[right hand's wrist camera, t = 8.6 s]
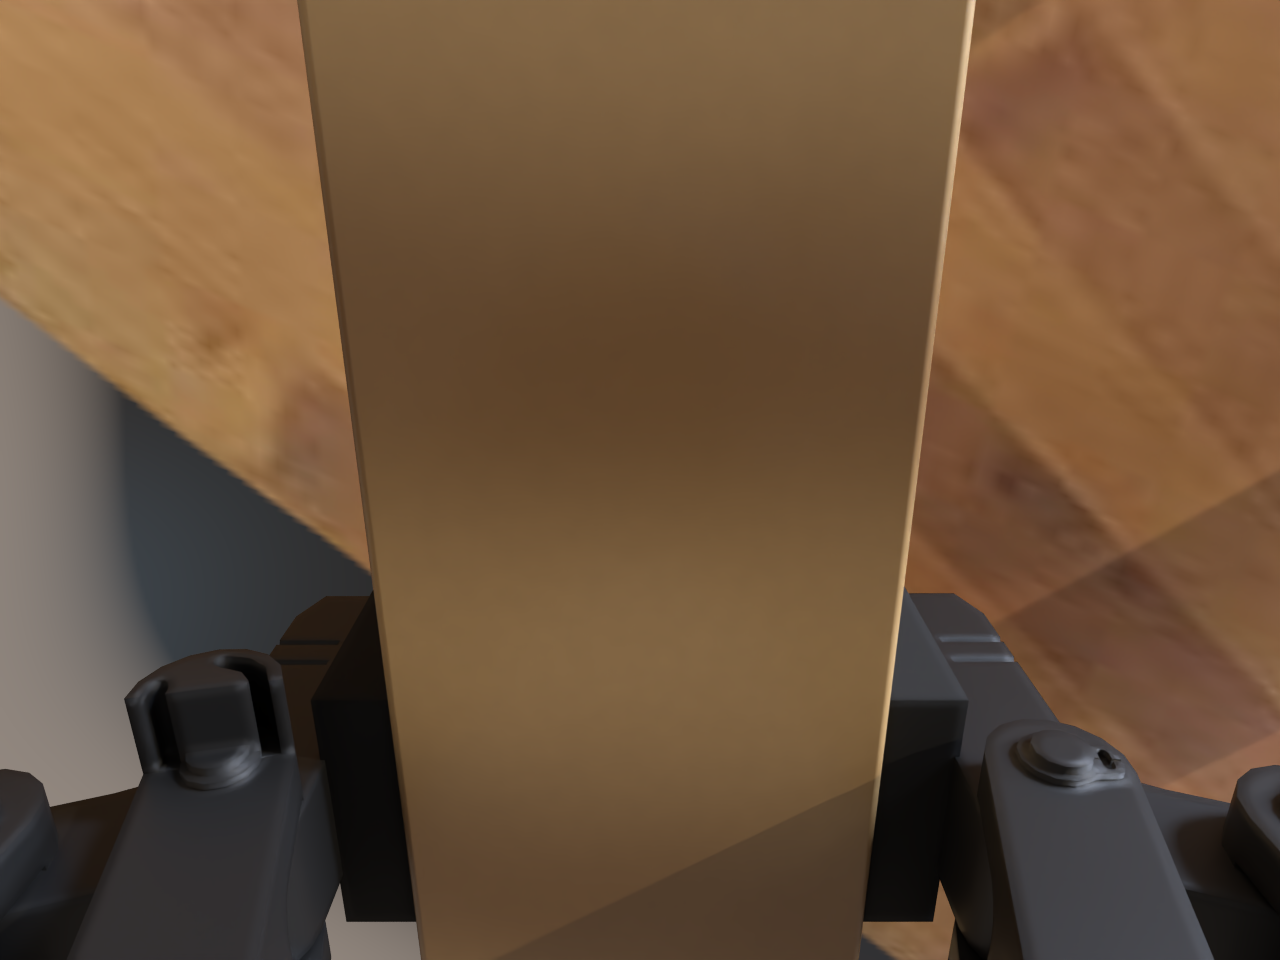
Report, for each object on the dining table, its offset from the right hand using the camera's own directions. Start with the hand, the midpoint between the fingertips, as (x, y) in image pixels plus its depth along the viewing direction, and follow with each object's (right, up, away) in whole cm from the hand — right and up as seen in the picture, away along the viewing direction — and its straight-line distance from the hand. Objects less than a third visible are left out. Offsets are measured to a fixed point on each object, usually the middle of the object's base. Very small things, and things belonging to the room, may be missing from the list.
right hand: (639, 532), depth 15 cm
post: (0, +26, -10) cm, 28 cm away
